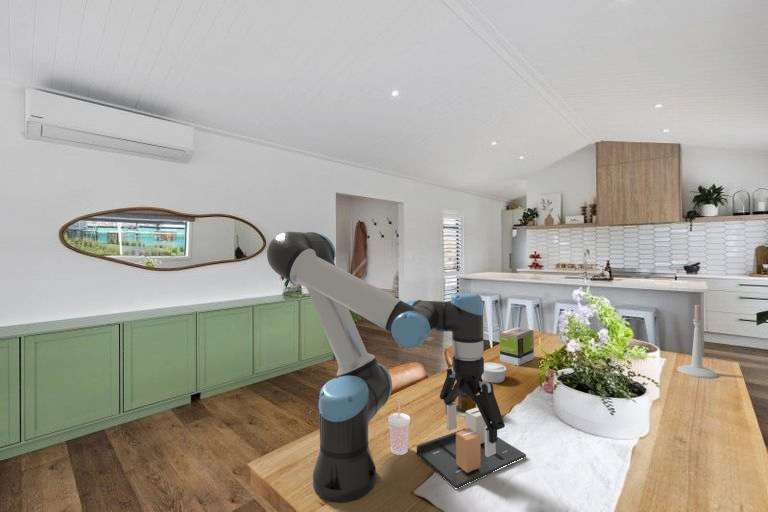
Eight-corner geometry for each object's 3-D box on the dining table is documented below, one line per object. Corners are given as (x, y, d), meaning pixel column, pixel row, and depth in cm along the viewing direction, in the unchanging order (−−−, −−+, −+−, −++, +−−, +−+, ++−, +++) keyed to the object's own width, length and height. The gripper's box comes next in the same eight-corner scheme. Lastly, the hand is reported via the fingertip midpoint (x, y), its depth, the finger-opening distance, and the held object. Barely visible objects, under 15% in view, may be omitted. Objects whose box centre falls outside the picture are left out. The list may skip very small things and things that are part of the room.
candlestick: (724, 379, 145) (725, 307, 144) (686, 376, 149) (687, 305, 148) (706, 369, 157) (707, 302, 156) (671, 366, 161) (672, 301, 160)
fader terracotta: (467, 472, 85) (467, 439, 85) (456, 464, 88) (455, 432, 88) (480, 467, 87) (480, 434, 87) (469, 458, 91) (469, 427, 90)
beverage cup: (392, 442, 101) (392, 394, 101) (413, 446, 99) (412, 397, 99) (385, 453, 96) (384, 403, 95) (406, 458, 93) (406, 406, 93)
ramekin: (503, 386, 140) (503, 373, 140) (475, 381, 146) (475, 368, 146) (509, 377, 150) (509, 365, 150) (483, 372, 156) (483, 360, 156)
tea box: (515, 354, 180) (515, 326, 180) (534, 359, 172) (534, 329, 172) (499, 361, 170) (499, 330, 170) (518, 366, 163) (518, 334, 162)
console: (455, 489, 81) (455, 479, 81) (416, 454, 95) (416, 445, 95) (525, 458, 93) (525, 449, 93) (481, 430, 107) (481, 422, 107)
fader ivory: (475, 445, 96) (475, 416, 96) (465, 438, 100) (465, 410, 100) (487, 441, 99) (487, 412, 98) (477, 434, 102) (477, 407, 102)
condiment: (481, 410, 120) (481, 375, 120) (463, 417, 115) (463, 381, 115) (465, 402, 126) (465, 369, 126) (448, 408, 122) (448, 374, 121)
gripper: (520, 367, 78) (521, 461, 78) (447, 342, 100) (449, 416, 100) (495, 374, 74) (497, 473, 75) (425, 346, 96) (427, 423, 96)
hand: (469, 440), depth 87 cm, fingers open, 13 cm apart
